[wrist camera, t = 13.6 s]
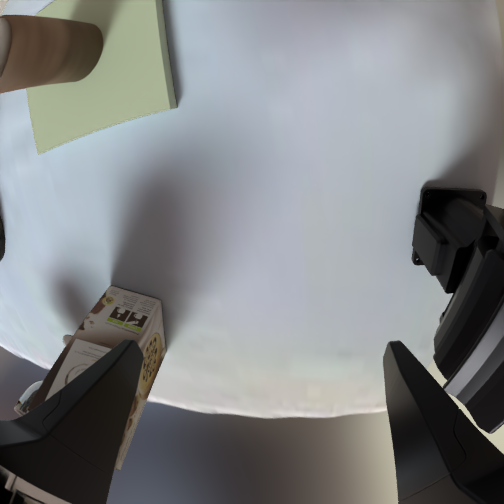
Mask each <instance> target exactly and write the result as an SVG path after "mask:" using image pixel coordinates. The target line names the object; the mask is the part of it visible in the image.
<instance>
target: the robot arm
mask: <svg viewBox="0 0 504 504" xmlns="http://www.w3.org/2000/svg"><path fill="white" fill-rule="evenodd" d="M427 192H429V195H428V196H427V197H425V195H426V193H427ZM481 195H482V197H481V198H480V196H481ZM486 198H487V195H486V193H485V192H484V191H483V190H478V189H461V188H436V187H425V188H423V189H422V191H421V194H420V204H419V213H418V215H417V216H416V220H415V228H414V235H413V242H412V246H413V247H414V248H413V254H412V261H413V263H414V264H415V265H425V266H426V268H427V270H428V271H429V273H430V274H431V275H432V276H436V277H437V279H438V281H439V282H440V284H441V286H442V287H443V289H444V291H445V292H446V293H447V294H449V293H453V295H452V298H451V300H450V302H449V304H448V306H447V308H446V310H445V312H443V313H442V315H441V317H440V325H439V327H438V328H437V331H436V334H435V337H434V348H435V354H434V356H433V358H434V361H435V363H436V365H437V368H438V369H439V371H440V372H441V373H442V375H443V376H444V378H445V379H447V382H446V383H445V384H444V386H443V388H442V387H441V386H440V385H439V383H438V382H437V381H436V380H435V379H434V378H433V377H432V375H431V374H430V373H429V372H428V371H427V370H426V369H425V367H424V366H423V365H422V364H421V363H420V362H419V361H418V360H417V358H416V357H415V356H414V355H413V354H412V353H411V352H410V351H409V350H408V348H407V347H406V346H405V345H404V344H403V343H402V342H401V341H390V342H389V343H388V344H387V347H386V351H385V354H384V357H383V367H384V378H385V392H386V404H387V410H388V415H389V422H390V428H391V435H392V442H393V450H394V458H395V467H396V477H397V489H398V501H399V502H398V504H504V454H503V453H501V452H500V451H499V450H498V449H497V448H496V447H495V446H494V445H493V444H492V443H491V442H490V441H489V440H488V439H487V438H486V437H485V436H484V435H483V434H482V433H481V432H480V431H479V430H478V429H477V428H476V427H475V426H474V425H473V423H472V422H471V421H470V420H469V419H468V418H467V417H466V415H465V414H464V413H463V412H462V410H461V409H459V407H458V406H457V405H456V403H455V402H454V401H453V400H452V399H451V397H450V396H449V395H448V394H447V393H449V394H451V395H453V396H454V397H456V398H457V399H458V400H459V401H460V402H461V403H462V404H463V405H465V407H466V408H467V410H468V411H469V412H470V414H471V416H472V417H473V419H474V421H475V422H476V424H477V426H478V427H479V428H481V429H483V430H484V431H486V432H487V433H489V434H491V433H494V432H495V431H496V430H497V429H499V428H500V427H501V426H502V425H503V424H504V209H502V208H498V207H494V206H490V205H486ZM417 258H419V259H418V260H416V259H417ZM143 360H144V355H143V352H142V350H141V349H140V347H139V345H138V343H137V342H136V341H135V340H133V339H125V340H123V341H122V342H120V343H119V344H118V345H117V346H115V347H114V348H113V349H111V350H110V351H109V352H108V353H106V354H105V355H104V356H102V357H101V358H100V359H99V360H97V361H96V362H95V363H93V364H92V365H91V366H90V367H88V368H87V369H86V370H84V371H83V372H82V373H81V374H79V375H78V376H77V377H76V378H74V379H73V380H72V381H70V382H69V383H68V384H67V385H65V386H64V387H63V388H62V389H60V390H59V391H58V392H56V393H55V394H54V395H52V396H51V397H50V398H48V399H47V400H46V401H44V402H43V403H41V404H40V405H38V406H37V407H35V408H34V409H32V410H31V411H29V412H27V413H26V414H24V415H23V416H21V417H19V418H17V419H14V420H0V504H106V501H107V497H108V493H109V488H110V484H111V480H112V476H113V472H114V468H115V464H116V460H117V456H118V453H119V449H120V445H121V442H122V438H123V435H124V431H125V428H126V425H127V421H128V418H129V415H130V411H131V408H132V405H133V402H134V399H135V395H136V392H137V388H138V383H139V378H140V373H141V369H142V364H143ZM446 392H447V393H446Z"/></svg>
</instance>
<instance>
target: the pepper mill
mask: <svg viewBox="0 0 504 504" xmlns="http://www.w3.org/2000/svg"><path fill="white" fill-rule="evenodd" d="M102 50H103V36H102V32H101V30H100V29H99V28H98V27H97V26H96V25H94V24H91V23H86V22H80V21H74V20H68V19H60V18H52V17H42V16H27V15H2V16H0V93H4V92H9V91H14V90H19V89H24V88H30V87H36V86H43V85H50V84H59V83H68V82H77V81H80V80H82V79H84V78H85V77H86V76H88V75H89V74H90V73H91V72H92V70H93V69H94V68H95V66H96V65H97V63H98V61H99V59H100V56H101V54H102Z"/></svg>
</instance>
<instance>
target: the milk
mask: <svg viewBox="0 0 504 504" xmlns="http://www.w3.org/2000/svg"><path fill="white" fill-rule="evenodd" d="M7 2H8V0H0V16H2V13H3V11H4V9H5V6H6V4H7Z"/></svg>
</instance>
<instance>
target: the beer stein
mask: <svg viewBox="0 0 504 504" xmlns="http://www.w3.org/2000/svg"><path fill="white" fill-rule="evenodd" d="M4 253H5V235H4V229H3V223H2V220H1V217H0V261H1V260H2V258H3V256H4Z"/></svg>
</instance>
